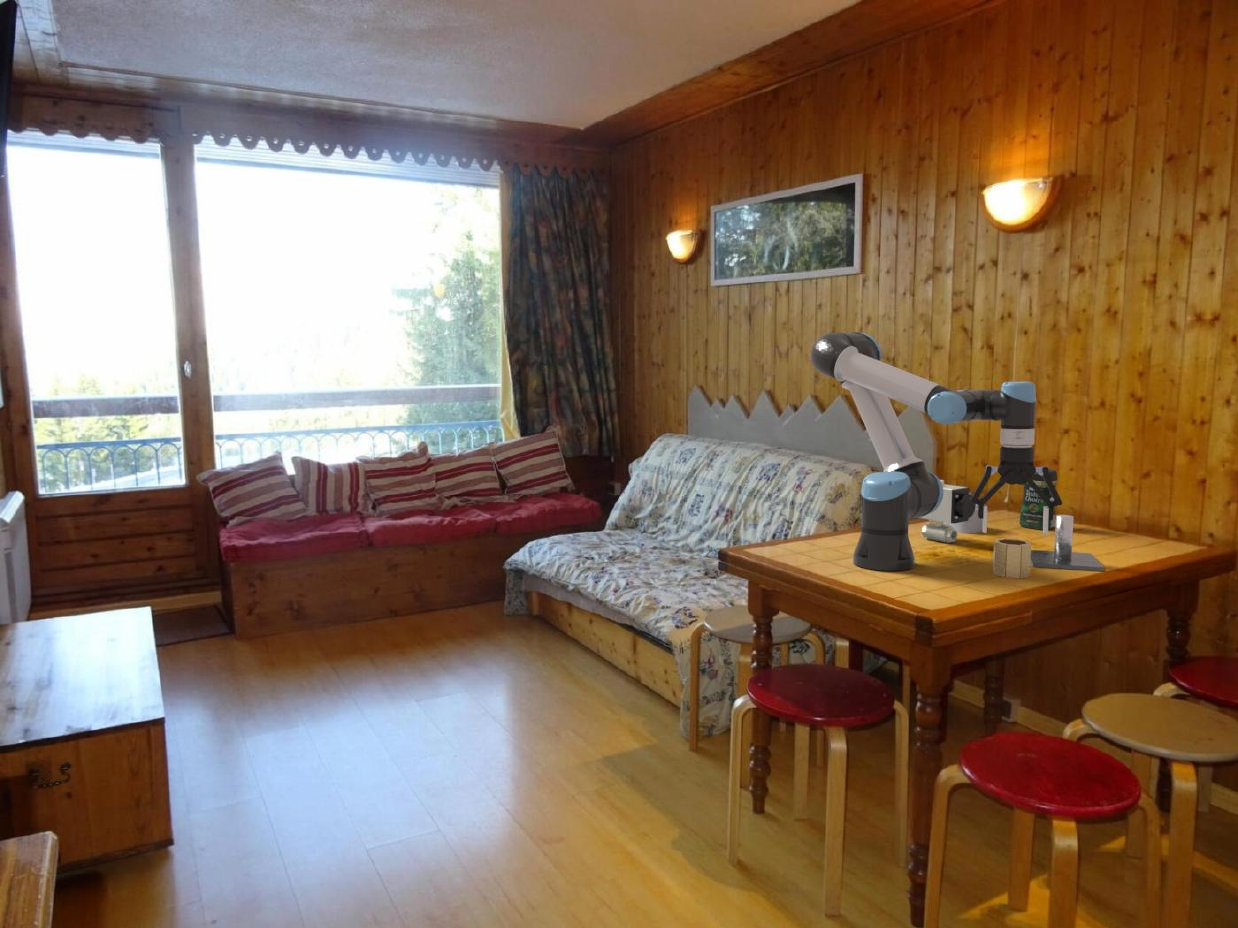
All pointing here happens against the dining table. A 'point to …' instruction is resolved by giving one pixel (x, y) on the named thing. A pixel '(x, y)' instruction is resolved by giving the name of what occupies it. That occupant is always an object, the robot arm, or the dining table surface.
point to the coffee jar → (1036, 502)
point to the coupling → (1011, 558)
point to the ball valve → (949, 513)
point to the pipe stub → (1064, 551)
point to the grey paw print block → (969, 524)
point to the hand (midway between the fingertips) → (1014, 532)
